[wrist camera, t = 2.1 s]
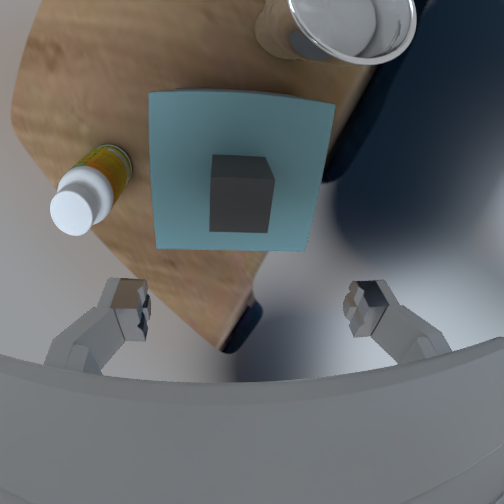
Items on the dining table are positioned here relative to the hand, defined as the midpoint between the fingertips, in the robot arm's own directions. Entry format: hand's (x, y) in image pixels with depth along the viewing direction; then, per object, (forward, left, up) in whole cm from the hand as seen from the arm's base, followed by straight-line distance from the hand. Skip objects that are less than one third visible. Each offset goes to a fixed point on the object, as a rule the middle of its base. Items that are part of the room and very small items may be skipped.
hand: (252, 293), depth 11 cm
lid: (0, 0, -12) cm, 12 cm away
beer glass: (-12, +4, -20) cm, 24 cm away
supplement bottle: (+2, -13, -20) cm, 24 cm away
